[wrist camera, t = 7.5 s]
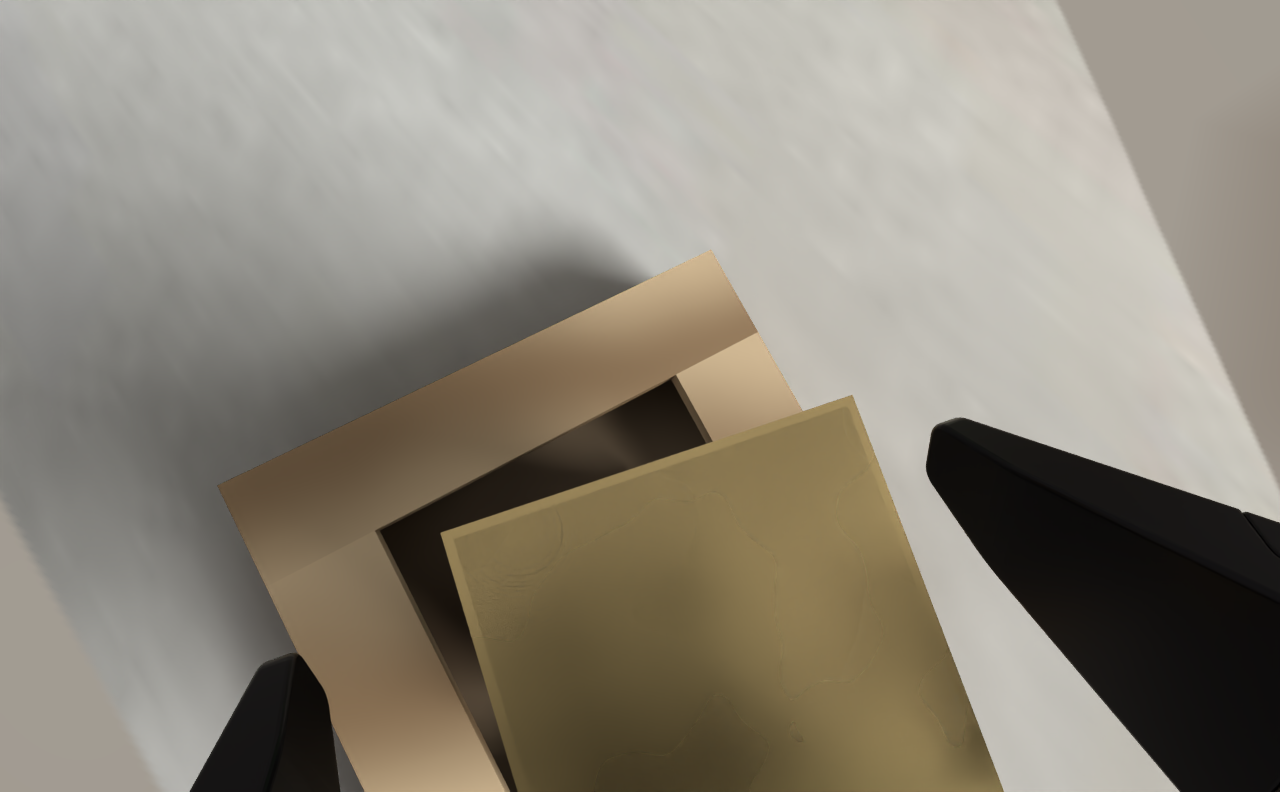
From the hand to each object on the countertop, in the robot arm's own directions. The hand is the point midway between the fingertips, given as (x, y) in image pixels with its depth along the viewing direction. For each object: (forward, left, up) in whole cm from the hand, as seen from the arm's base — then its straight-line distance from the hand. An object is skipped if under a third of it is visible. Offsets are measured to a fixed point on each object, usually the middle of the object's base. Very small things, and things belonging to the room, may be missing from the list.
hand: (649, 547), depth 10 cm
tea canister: (-1, 0, -11) cm, 11 cm away
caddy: (-1, 0, -12) cm, 12 cm away
